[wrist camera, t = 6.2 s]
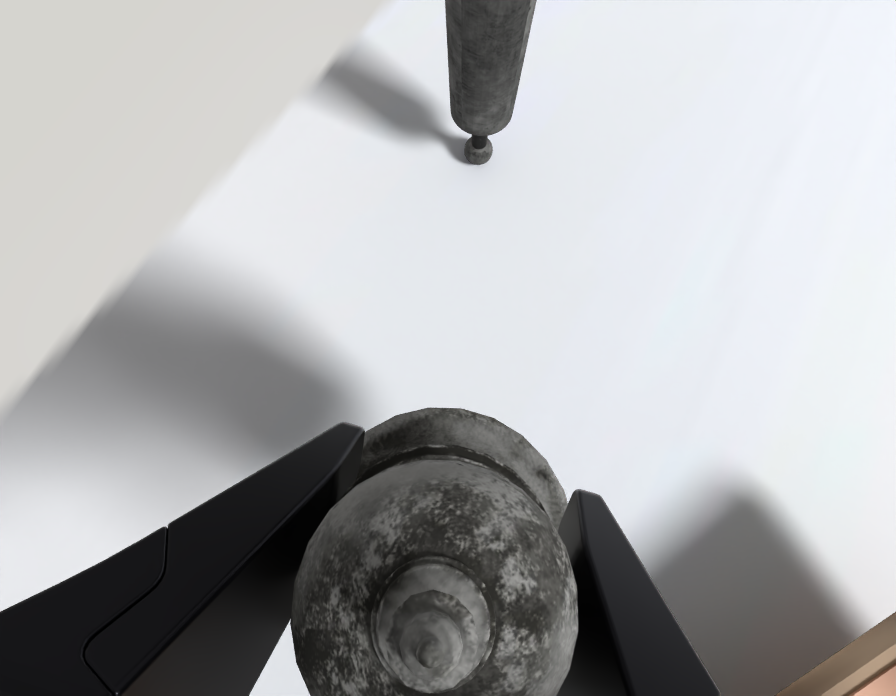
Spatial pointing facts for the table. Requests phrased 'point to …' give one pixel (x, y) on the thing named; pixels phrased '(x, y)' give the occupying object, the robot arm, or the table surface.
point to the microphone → (485, 66)
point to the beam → (855, 667)
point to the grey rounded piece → (439, 568)
